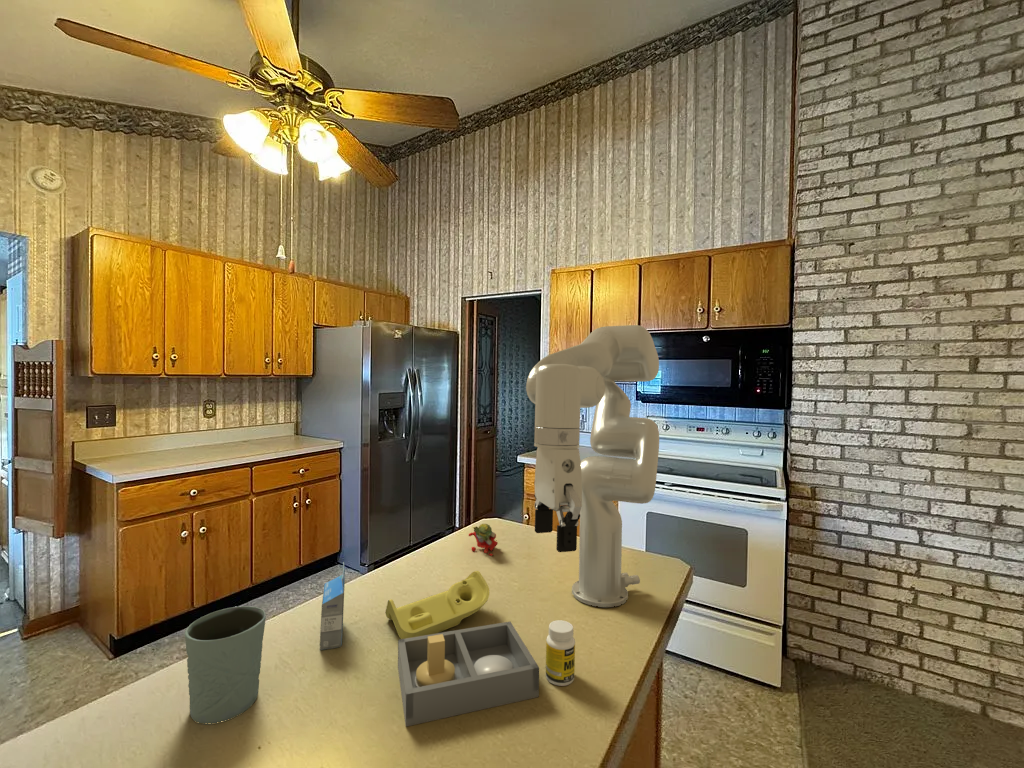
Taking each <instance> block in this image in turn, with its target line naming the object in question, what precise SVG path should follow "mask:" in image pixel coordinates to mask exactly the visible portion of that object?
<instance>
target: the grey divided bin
mask: <svg viewBox="0 0 1024 768" xmlns="http://www.w3.org/2000/svg"><path fill="white" fill-rule="evenodd" d="M527 647H528V646H527V645H526V644H525V643H524V641H523V640H522V638H521V636H520V635H519V633H518V631H517V630H516V628H515V626H514V625H513V623H512V622H511V621H505V622H504V621H503V622H499V623H492V624H487V625H485V624H484V625H480V626H474V627H473V626H472V627H468V628H462V629H461V628H460V629H456V630H450V631H442V632H439V633H436V634H430V635H424V636H418V637H412V638H406V639H400V638H399V639H398V640H397V670H398V677H399V687H400V692H401V693H400V695H401V701H402V709H403V715H404V716H403V717H404V724H405V725H404V726H405V727H411V726H414V725H415V726H416V725H419V724H424V723H427V722H432V721H437V720H442V719H446V718H450V717H455V716H459V715H464V714H468V713H472V712H478V711H483V710H486V709H489V708H490V709H491V708H496V707H499V706H503V705H509V704H512V703H518V702H522V701H526V700H530V699H535V698H539V696H540V666H539V665H538V663H537V662H536V659H534V657H533V655H532V654H531V652H530V650H529V649H528V648H527Z"/></svg>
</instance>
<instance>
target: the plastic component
mask: <svg viewBox="0 0 1024 768" xmlns="http://www.w3.org/2000/svg"><path fill="white" fill-rule="evenodd" d="M489 597H490V587H489V584H488V583H487V581H486V579H485V578H484V576H483V575H482V573H481V571H479V570H475V571H473V572H471V573H470V574H469V575H468V576H467V577H466V578H465V579H462V580H460V581H458V582H455V583H453V584H452V585H451V586H450V587H449V588H448V590H445V591H442V592H439V593H436V594H434V595H430V596H428V597H425V598H422V599H419V600H417V601H414V602H411V603H407V604H404V605H401V606H399V607H396V604H395V602H394V599H393V598H392V599H391V598H390V599H389V600H388V601H387V603H386V608H385V613H384V614H385V616H386V617H387V619H389V620H392V622H393V624H394V626H395V629H396V633H397V635H398V637H399V640H400V639H406V638H412V637H418V636H424V635H430V634H436V633H442V632H445V631H446V630H448V629H452V628H453V627H456V626H458V625H460V623H461V622H462V620H463V619H466V618H467V617H470V616H472V615H473V614H476V612H478V611H479V610H480V609H482V608H483V606H484V605H486V603H487V602H488V600H489Z"/></svg>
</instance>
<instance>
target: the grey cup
mask: <svg viewBox="0 0 1024 768" xmlns="http://www.w3.org/2000/svg"><path fill="white" fill-rule="evenodd" d="M266 618H267V615H266V612H265V610H264V609H262V608H260V607H257V606H249V605H244V606H243V605H242V606H233V607H227V608H223V609H219V610H216V611H213V612H210V613H208V614H206V615H204V616H200V618H198V619H196V620H194V621H193V622H192V623H190V624H189V626H187V628H186V629H185V630H184V639H185V652H186V655H187V658H186V663H187V665H186V666H187V674H188V676H187V678H188V685H187V687H188V696H189V714H190V717H191V719H193V721H194V722H195V721H196V722H199V723H204V724H203V725H209V724H208V723H211V724H210V725H213V724H212V723H216V724H218V723H217V722H221V721H224V722H226V721H225V720H227V721H229V720H228V719H230V720H232V719H234V718H236V717H238V716H239V714H240V715H242V714H243V713H244V712H246V711H247V710H249V708H251V707H252V706H253V704H254V703H255V702H256V700H257V698H258V695H259V690H260V689H259V686H260V679H259V677H260V674H261V665H262V663H261V662H262V656H263V655H262V651H263V641H264V634H265V633H264V632H265V627H266ZM241 713H242V714H241ZM237 715H238V716H237ZM235 716H236V717H235ZM233 717H234V718H233ZM231 718H232V719H231ZM196 722H195V723H196ZM199 723H198V724H199ZM205 723H207V724H205ZM221 723H222V722H221Z"/></svg>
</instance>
